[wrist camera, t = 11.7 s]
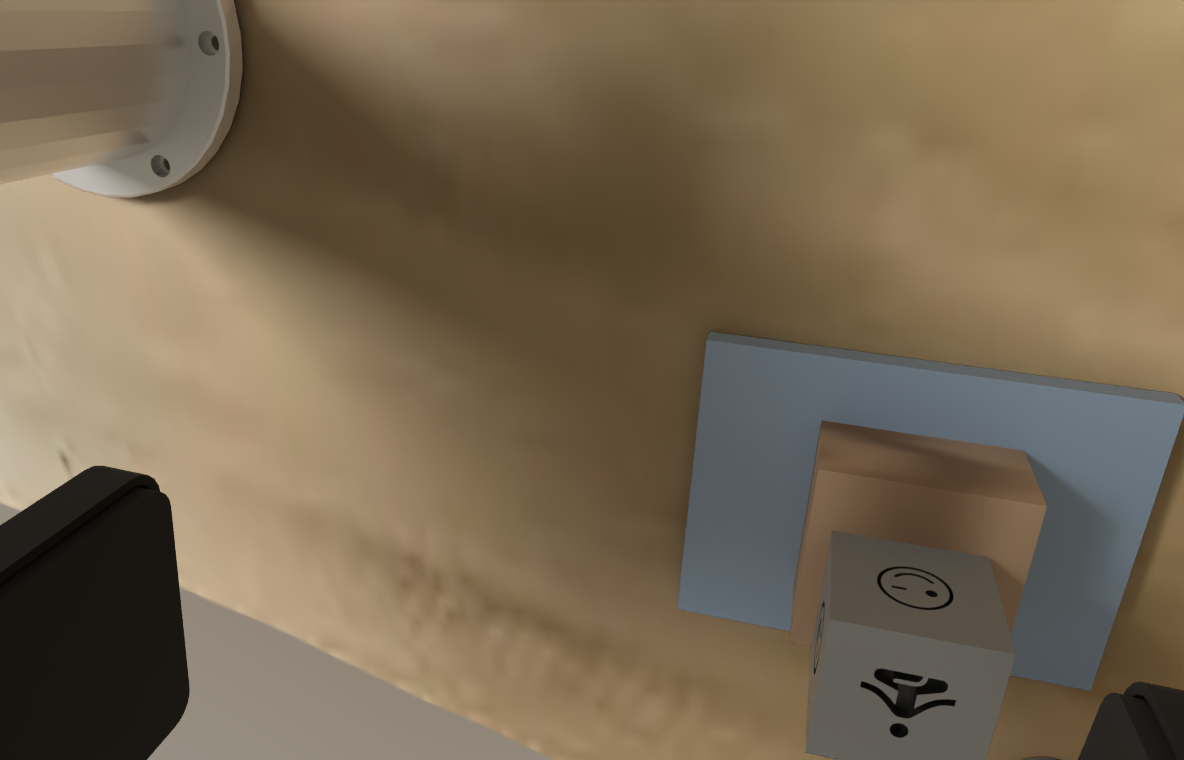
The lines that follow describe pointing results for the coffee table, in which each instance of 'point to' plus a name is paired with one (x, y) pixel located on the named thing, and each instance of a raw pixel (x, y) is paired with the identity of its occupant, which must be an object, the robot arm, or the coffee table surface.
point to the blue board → (936, 409)
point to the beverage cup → (1040, 759)
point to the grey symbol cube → (906, 653)
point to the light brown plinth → (917, 506)
